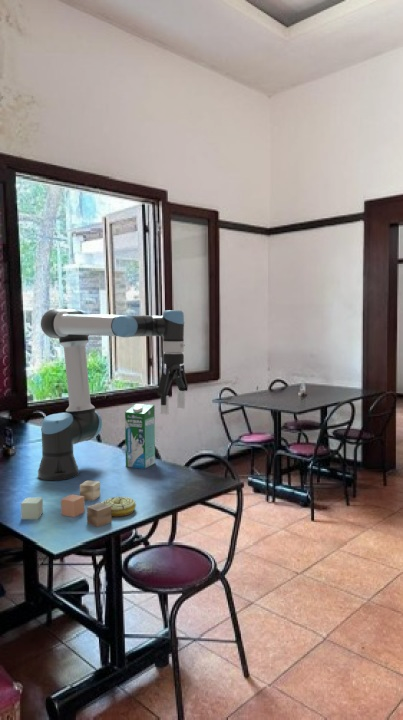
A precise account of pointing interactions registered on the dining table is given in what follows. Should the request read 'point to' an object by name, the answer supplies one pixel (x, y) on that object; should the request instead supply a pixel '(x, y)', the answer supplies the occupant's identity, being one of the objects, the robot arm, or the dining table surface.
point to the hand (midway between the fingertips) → (173, 411)
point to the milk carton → (140, 436)
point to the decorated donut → (120, 505)
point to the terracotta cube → (72, 505)
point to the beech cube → (90, 490)
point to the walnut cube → (99, 514)
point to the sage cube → (31, 508)
